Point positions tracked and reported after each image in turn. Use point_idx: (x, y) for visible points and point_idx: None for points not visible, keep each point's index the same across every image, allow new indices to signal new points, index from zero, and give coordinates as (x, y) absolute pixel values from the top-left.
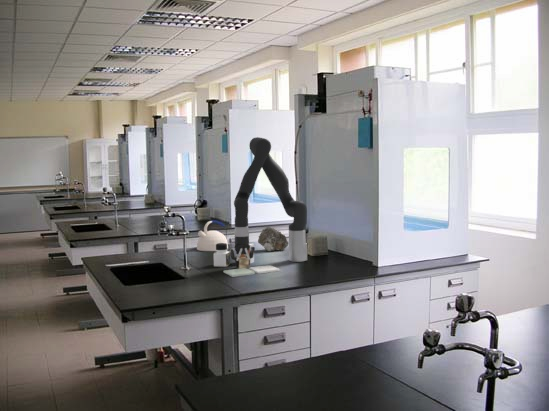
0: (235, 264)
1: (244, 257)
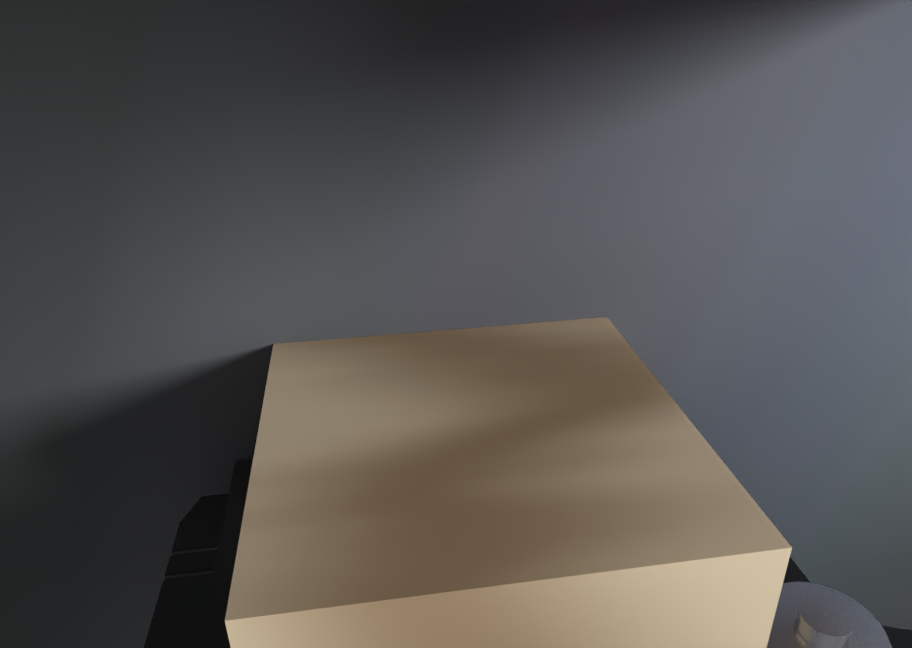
0: (175, 569)
1: (742, 587)
